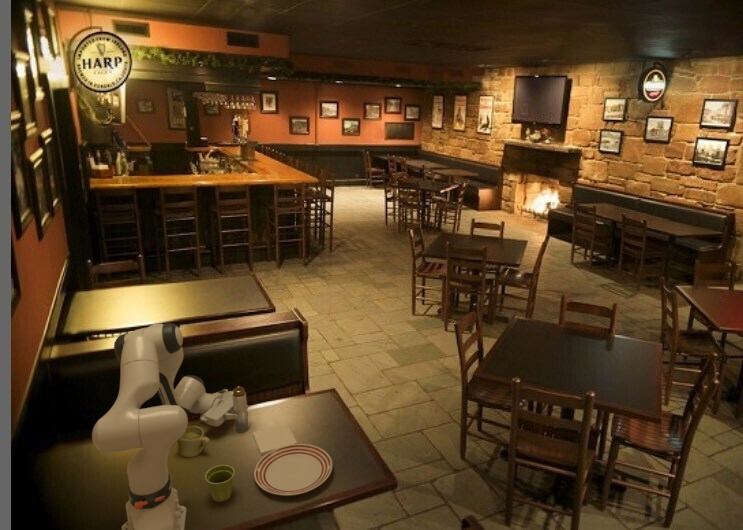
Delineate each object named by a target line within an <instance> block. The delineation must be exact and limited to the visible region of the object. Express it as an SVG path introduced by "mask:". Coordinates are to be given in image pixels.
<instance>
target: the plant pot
mask: <svg viewBox="0 0 743 530" xmlns="http://www.w3.org/2000/svg"><path fill="white" fill-rule="evenodd" d="M234 476H235V469H234V467H233V466H231V465H229V464H220V465H216V466H213V467H211V468H209V469H208V470H207V471H206V473H205V474H204V477H205V478H204V479H205V481H206V483H207V484H208V486H209V490H210V494H211V497H212V500H213V501H215V502H217V503H221V502H225V501H227V500H229V499H230V498H231V496H232V489H233V488H232V487H233V479H234Z"/></svg>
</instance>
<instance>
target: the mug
mask: <svg viewBox="0 0 743 530" xmlns="http://www.w3.org/2000/svg"><path fill="white" fill-rule="evenodd" d="M204 432H205V431H204V430H203V428H202V427H200V426H199V425H198V426H197V425H189V426H188V425H187V429H186V431H185V433H184V434H183V436H182V437H181V438H179V439H178V440H177V444H178V445H177V447H178V453H179V455H180V456H182V457H184V458H192V457H196V456H198V455H200V454H201V453H202V452H203V450H204V448H205V447H206V446H207V445H208V444H209V443H210V442H211V441H210V439H209V437H207V436H205V433H204Z"/></svg>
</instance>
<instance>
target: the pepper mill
mask: <svg viewBox="0 0 743 530" xmlns="http://www.w3.org/2000/svg"><path fill="white" fill-rule="evenodd" d="M245 390H246V389H245V387H243V386H240V385H238V386H236V387H235V388H233V389H232V391H233V395H232V396H233V408H234V413H238V414H239V417H238V418H237V419H234V428H235V429H234V430H235V432H236V433H238V434H242V433H243V434H244V433H246V432H248V431H249V419H248V418H249V417H248V409H247V405H248V404H247V403H248V402H247V392H246V391H245ZM234 413H233V414H234Z"/></svg>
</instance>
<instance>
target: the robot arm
mask: <svg viewBox="0 0 743 530" xmlns="http://www.w3.org/2000/svg"><path fill="white" fill-rule="evenodd" d="M183 342H184V336H183V333H182V331H181V329H180V327H179V325H177V324H175V323H164V324H163V323H153V324H152V325H149V326H147V327H143V328H138V329H135V330H132V331H130V332H125V333H122V334H121V335H119V336H117V338H116V339H115V341H114V343H113V351H114V355H115V357H116V359H117V360H118V361H119V362H120V368H119V369H120V375H119V376H120V378H119V391H118V395H117V398H116V400H115V402H114V404H113V405H112V406H111V408H109V410H108V411H107V412H106V413H105V414H104V415H103V416H102V417H100V418H99V419H98V420H97V422H96V423H95V424H94V426H93V429H92V432H91V438H92V442H93V444H94V446H95V448H96V449H97V450H98V451H99V452H101V453H119V452H124V451H130V450H134V449H140V448H141V449H140V450H138V451H137V452H136V453H134V455H133V456H132V457H131V458H130V459H129V461H128V463H127V466H126V472H127V480H128V492H127V493H128V498H129V500H128V501H127V502H126V503H125V509H126V516H127V517H126V518H127V521H126V522H124V524H122V525H121V530H185V529H186V528H185V526H186V517H187V511H188V510H187V508H186V506H184V505H180V499H179V496H178V490H177V489H176V488H174V487H173V486H172V479H171V477H170V474H169V469H168V468H169V467H168V457H169V452H170V450H171V448H173V446H174V445H175V443H176V442H178V439H179V438H181V437H182V436H183V434H184V433H185V431H186V429H187V427H188V424H189V422H188V421H189V419H188V415H189V414H190V413H193V414H200V416H199V420H200V421H201V422H204V423H205V424H207V425H209V426H212V427H220V426H221V425H222V424H223V423H224V422H225V421H227V420H235V419H237V418H238V417H239V414H238V413H234V408H233V396H232V395H233V390H230V391H229V389H226V388H225V389H222V390H219V391H217V392H214V393H207V392H206V387H205V384H204V380H202V378H201V377H198V376H197V375H185V376H183V377H182V378H181V380H180V381H179V382H178V384H177V385H176V387H175V388H174V382H175V378H176V375H177V373H178V371H179V369H180V367H181V365H182V363H183V360H184V349H183V344H184V343H183ZM156 394H157V395H158V396H159V400H160V402H161V404H162V405H157V406H151V407H147V408H146V407H145V408H141V407H142V405H143V404H145V402H147V401H148V400H150V399H152V398H153V397H154V396H155V395H156ZM248 409H249V405H248V404H247V410H248Z"/></svg>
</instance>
